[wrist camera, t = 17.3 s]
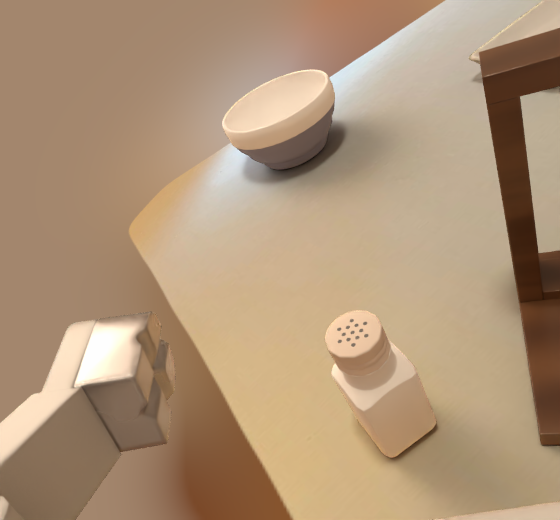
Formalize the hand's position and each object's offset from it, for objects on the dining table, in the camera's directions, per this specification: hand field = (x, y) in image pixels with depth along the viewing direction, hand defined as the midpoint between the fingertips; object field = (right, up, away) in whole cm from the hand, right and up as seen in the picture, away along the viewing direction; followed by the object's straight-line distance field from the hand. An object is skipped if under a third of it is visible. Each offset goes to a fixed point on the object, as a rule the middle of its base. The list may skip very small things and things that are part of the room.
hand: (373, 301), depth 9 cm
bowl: (+1, +15, +56) cm, 58 cm away
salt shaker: (+6, -10, +23) cm, 26 cm away
